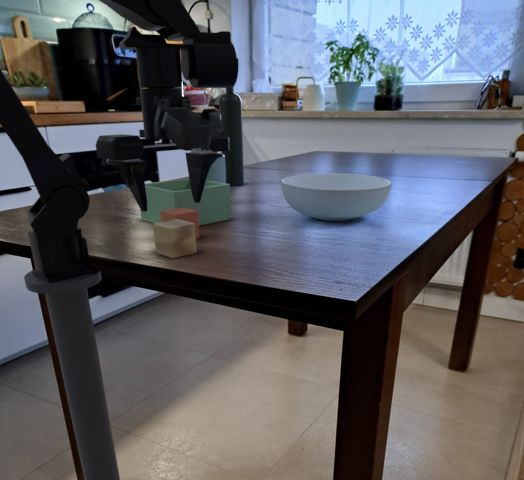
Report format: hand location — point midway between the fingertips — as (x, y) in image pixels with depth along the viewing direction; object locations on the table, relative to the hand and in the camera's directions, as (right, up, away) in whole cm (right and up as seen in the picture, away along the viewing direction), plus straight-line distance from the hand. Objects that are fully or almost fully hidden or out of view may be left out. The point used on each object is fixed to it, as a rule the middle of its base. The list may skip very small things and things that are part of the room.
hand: (171, 206), depth 76 cm
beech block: (0, -6, +3) cm, 7 cm away
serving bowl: (+28, +5, +25) cm, 38 cm away
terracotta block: (0, -2, +12) cm, 12 cm away
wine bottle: (+5, +24, +65) cm, 69 cm away
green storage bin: (-2, +4, +25) cm, 25 cm away
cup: (+1, +12, +41) cm, 42 cm away
